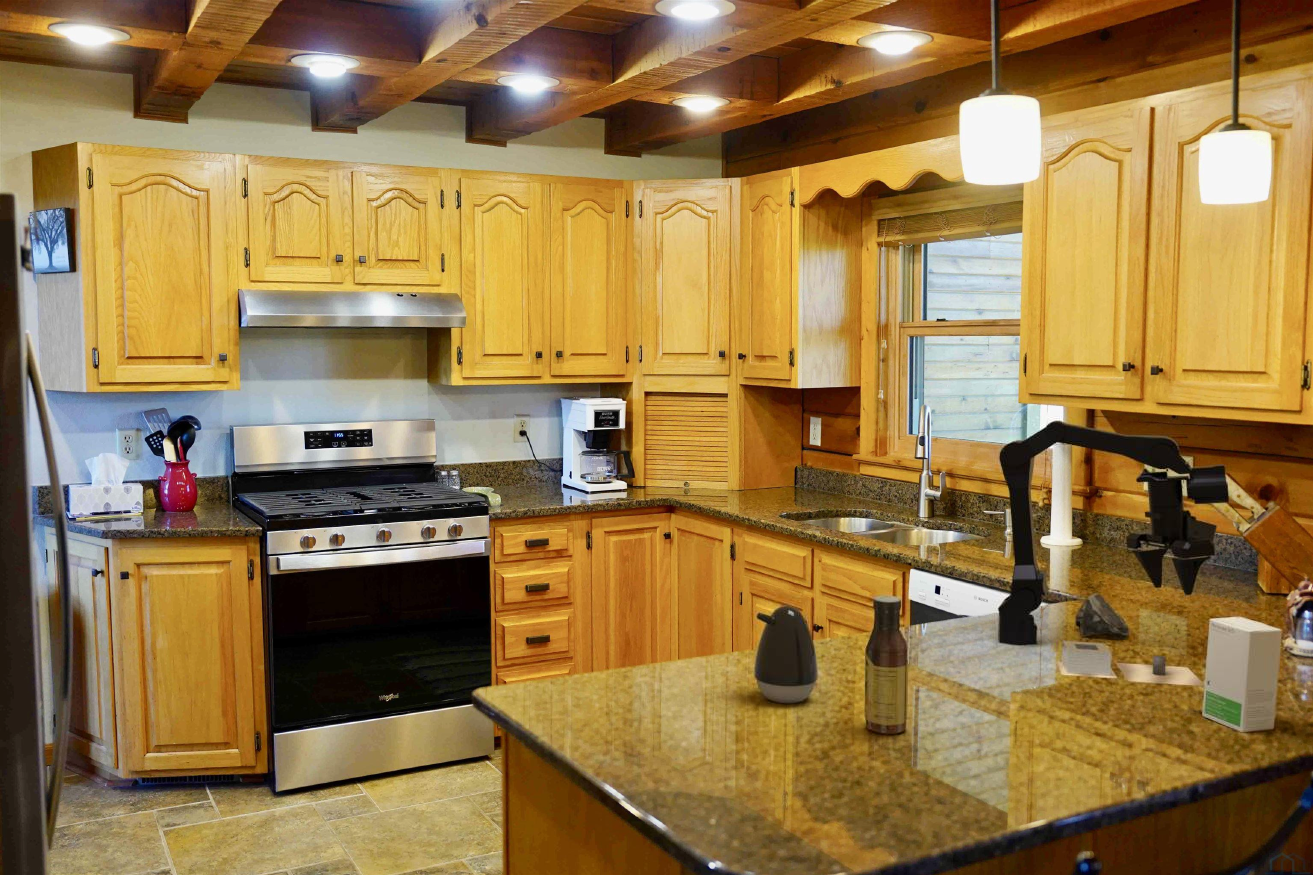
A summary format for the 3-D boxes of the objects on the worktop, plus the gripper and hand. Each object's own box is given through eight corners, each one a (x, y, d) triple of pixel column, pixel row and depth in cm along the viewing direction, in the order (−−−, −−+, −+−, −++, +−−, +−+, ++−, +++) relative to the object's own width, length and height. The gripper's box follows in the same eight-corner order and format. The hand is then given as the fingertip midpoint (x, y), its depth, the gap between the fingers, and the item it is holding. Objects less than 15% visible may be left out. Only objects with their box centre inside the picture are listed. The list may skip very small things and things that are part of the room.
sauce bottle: (877, 720, 177) (880, 591, 176) (914, 728, 173) (918, 597, 172) (855, 730, 172) (858, 597, 171) (893, 739, 168) (897, 604, 167)
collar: (1067, 673, 200) (1068, 650, 200) (1061, 663, 207) (1062, 640, 207) (1110, 676, 199) (1111, 653, 198) (1103, 665, 205) (1104, 643, 205)
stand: (1061, 681, 199) (1062, 658, 199) (1054, 667, 208) (1055, 645, 208) (1117, 685, 198) (1118, 661, 197) (1107, 671, 206) (1108, 649, 206)
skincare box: (1200, 717, 180) (1205, 618, 179) (1234, 713, 183) (1238, 615, 181) (1244, 733, 172) (1249, 630, 171) (1278, 729, 175) (1283, 627, 174)
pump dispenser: (742, 693, 190) (743, 601, 189) (798, 687, 194) (800, 597, 193) (769, 711, 181) (771, 615, 180) (828, 704, 184) (830, 610, 183)
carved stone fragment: (1137, 640, 227) (1114, 595, 227) (1093, 659, 229) (1069, 614, 229) (1126, 626, 238) (1103, 582, 238) (1083, 644, 240) (1061, 601, 240)
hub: (1128, 688, 196) (1129, 663, 195) (1115, 669, 207) (1116, 646, 207) (1204, 693, 193) (1206, 668, 193) (1187, 673, 205) (1188, 650, 205)
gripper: (1240, 504, 202) (1247, 593, 202) (1176, 497, 221) (1182, 579, 221) (1181, 511, 200) (1188, 600, 201) (1122, 503, 219) (1128, 586, 219)
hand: (1172, 591), depth 210 cm, fingers open, 9 cm apart
